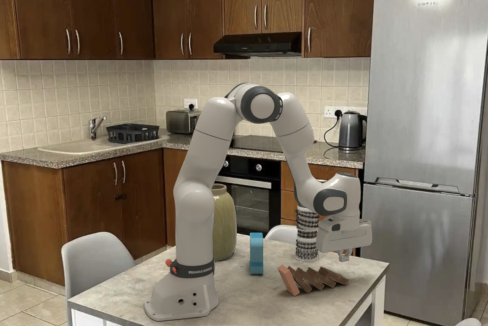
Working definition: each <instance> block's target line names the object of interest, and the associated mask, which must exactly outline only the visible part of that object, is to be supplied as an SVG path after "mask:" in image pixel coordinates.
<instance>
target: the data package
mask: <svg viewBox="0 0 488 326" xmlns="http://www.w3.org/2000/svg"><path fill="white" fill-rule="evenodd" d="M249 272H250V273H249V274H250V275H263V274H264V236H263V232H250V233H249Z"/></svg>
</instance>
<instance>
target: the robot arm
mask: <svg viewBox="0 0 488 326" xmlns="http://www.w3.org/2000/svg"><path fill="white" fill-rule="evenodd" d="M243 121H245V122H249V123H251V124H256V125H261V124H267V123H269V124H270V126H271V127H272V131H273V132H274V135H275V137H276V138H275V139H277V142H278V144H279V146H280V148H281V150H282V153H283V155H284V160H285V162H286V164H287V166H288V169H289V172H290V175H291V178H292V181H293V194H294V195H293V196H294V200H295V202H296V203H297V205H298V204H299V205H300V206H302V207H305V208H307V209H309V210H311V211H313V212H315V213H316V214H318V215H320V217H322V216H323V217H324V218H322V219H320V220H319V222H318V223H317V224H318V226H319V229H318V230H317V237H316V248H317V250H318V252H320V253H322V254H326V253H327V254H328V253H333V252H336V254H337V255H338V261H339V262H340V263H344V262H349V261H350V256H351V254H353V251H354V250H353V249H355V248H361V247H367V246H371V244H372V242H373V230H372V221H371V219H369V218H368V217H365V218H360V215H361V211H360V203H361V193H362V191H361V181H360V178H359V177H358V176H357V175H355V174H353V173H350V172H346V171H345V172H344V171H339V172H336V173H335V174H334V176H333V177H331V178H330V179H329V180H327V181H325V182H321V181H319V180H317V179H316V178H315V177H314V176H313V175H312V174H313V173H312V172H311V169H310V167H309V163H308V160H307V158H306V153H308V152H309V150H311V148H312V147H313V145H314V143H315V136H314V135H315V134H314V130H313V128H312V127H313V126H312V125H311V122H310V120H309V117H308V114H307V113H306V111H305V109H304V107H303V105H302V103H301V102H300V101H299V99H298V98H297V96H296V95H295V94H294V93H292V92H288V91H284V92H279V93H275V92H274V91H272V90H271V89H270V88H268V87H266V86H263V85H261V84H259V83H255V82H254V83H253V82H241V83H238V84H237V85H235V86H234V87H233V88H232V89H231V90H230V91H228V93H227V94H225V96H214V97H211V98H209V99H208V100H207V101H206V103H205V104H204V106H203V108H202V111H200V114H199V117H198V119H197V121H196V124H195V128H194V130H193V133H192V137H191V140H190V143H189V146H188V149H187V152H186V155H185V158H184V160H183V163H182V165H181V168H180V170H179V172H178V175H177V178H176V180H175V183H174V186H173V189H172V190H173V191H172V192H173V193H172V195H173V198H174V200H173V201H174V206H175V207H174V209H175V232H174V233H175V236H174V238H175V259H174V260H173V261H172V259H170V258H167V259H166V260H165V265H166V267H168V268H169V272H168V273H167V274H165V275H164V276H163V277H162V278H161V279H160V280H158V281H157V282H156V283H155V284H154V285H153V286H152V291H151V296H150V297H147V298H146V299H145V301H144V305H143V307H144V311H145V313H146V315H147V316H148V317H149V318H150V319H152V320H153V321H157V322H160V321H161V322H162V321H170V320H171V321H172V320H179V319H190V318H198V317H206V316H209V314H210V312H211V311H212V310H213V309H215V308H216V307H217V306H218V305H219V296H218V293H217V290H216V289H217V288H216V286H215V285H216V284H215V269H216V267H215V266H216V264H215V263H216V262H215V261H214V257H213V241H212V232H213V222H214V196H213V194H212V192H211V191H212V186H213V184H215V181H216V178H217V177H218V176H219V173H220V171H221V170H222V168H223V167H224V163H225V161H226V157H227V155H228V151H229V149H230V145H231V143H232V139H233V137H234V136H233V135H234V131H235V130H236V129H237V128H236V127H237V126H238V124H240V122H243ZM344 250H346V251H345V253H344ZM343 253H344V254H343Z"/></svg>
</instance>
